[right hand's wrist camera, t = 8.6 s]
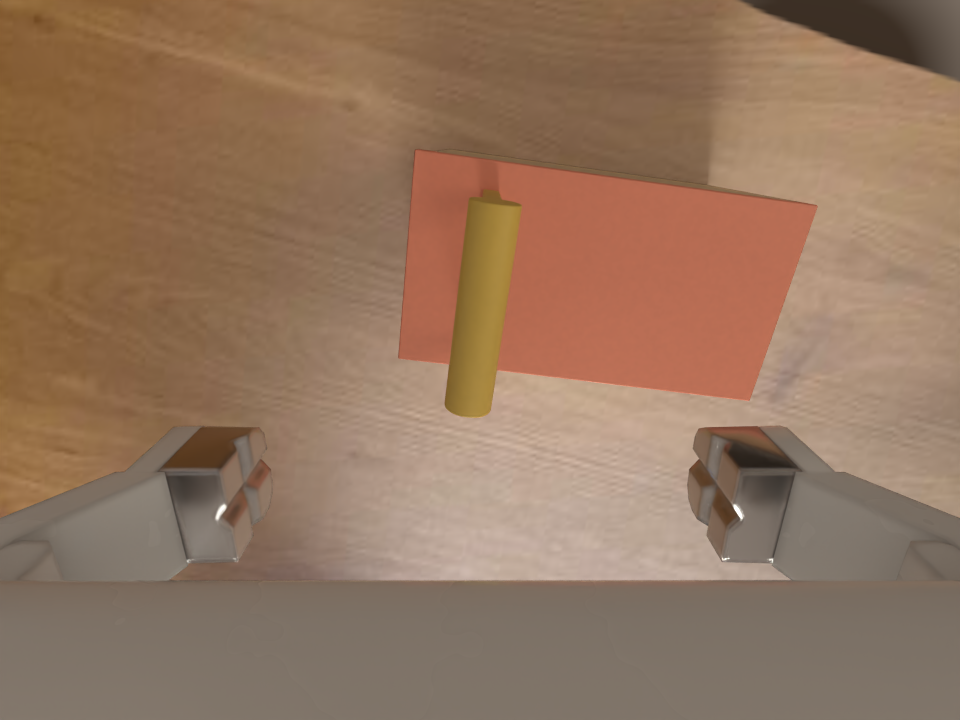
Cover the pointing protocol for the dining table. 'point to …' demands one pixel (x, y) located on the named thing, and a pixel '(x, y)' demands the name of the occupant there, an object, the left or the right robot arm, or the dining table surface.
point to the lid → (591, 278)
